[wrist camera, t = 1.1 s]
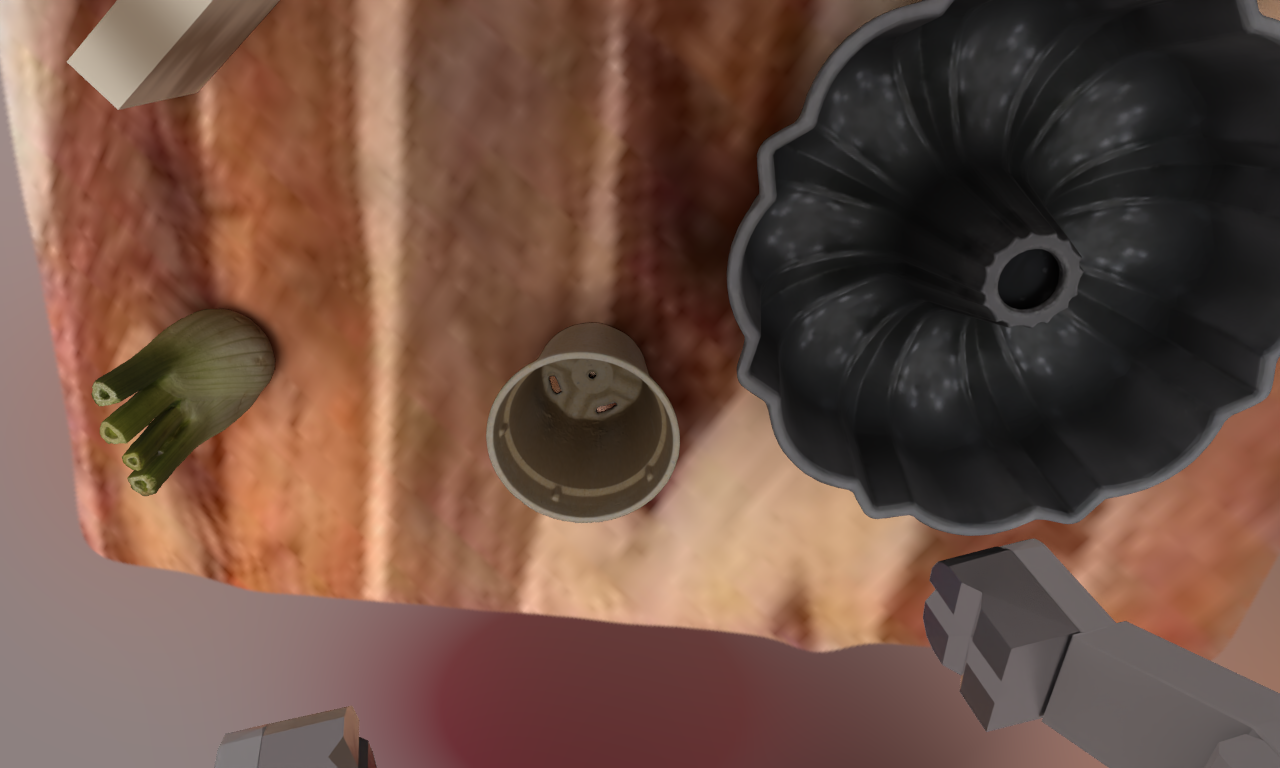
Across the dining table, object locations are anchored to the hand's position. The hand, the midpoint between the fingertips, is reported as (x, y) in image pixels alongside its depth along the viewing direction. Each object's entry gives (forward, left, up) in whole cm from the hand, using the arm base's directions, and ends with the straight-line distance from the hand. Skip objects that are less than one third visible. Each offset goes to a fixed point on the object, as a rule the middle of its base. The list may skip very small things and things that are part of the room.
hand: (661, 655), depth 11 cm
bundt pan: (+2, +17, -36) cm, 39 cm away
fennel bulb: (+12, -22, -35) cm, 43 cm away
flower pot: (+12, -2, -35) cm, 37 cm away
